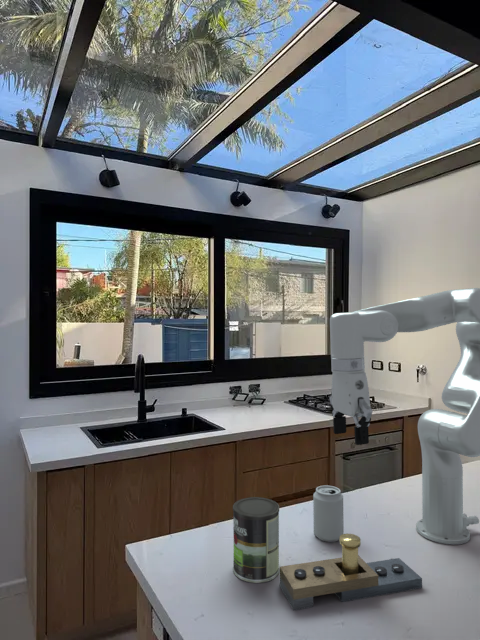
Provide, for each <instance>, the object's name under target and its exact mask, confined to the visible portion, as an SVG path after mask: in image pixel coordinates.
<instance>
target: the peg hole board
mask: <svg viewBox="0 0 480 640" xmlns="http://www.w3.org/2000/svg"><path fill="white" fill-rule="evenodd" d="M279 588H280V589H281V591H282V593H283V594H284V596H285V598H286V599H287V601H288V603H289V605H290V606H291V608H292V610H293V611H297V610H299V611H300V610H304V609H310V608H314V597H319V596H325V595H330V594H335V595H336V596H337V598H338V599H339V600H340V602H341V603H344V602H350V601H354V600H362V599H365V598H366V599H367V598H373V597H377V596H383V595H388V594H389V595H390V594H395V593H396V594H397V593H401V592H407V591H412V590H418V589H423V578H422V577H421V576H420V575H419V574H418V573H417V572H416V571H414V570H413V569H412V568H411V567H410V566H409V565H408V564H407V563H406V562H404V561H403V560H402V559H401V558H400V557H397V558H390V559H389V558H388V559H384V560H377V561H371V562H366V561H365V560H364V559H363V558H362V557H361V556H360V555H359V554H358V574H353V575H347V576H345V575H344V574H343V572H342V557H337V558H336V557H335V558H331V559H330V558H327V559H322V560H314V561H309V562H304V563H302V562H301V563H296V564H289V565H283V566H281V565H280V566H279Z"/></svg>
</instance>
